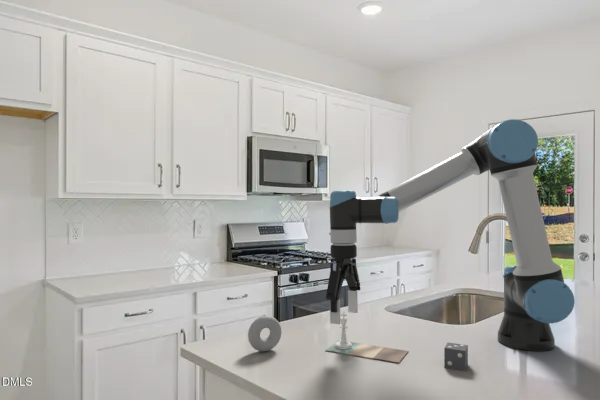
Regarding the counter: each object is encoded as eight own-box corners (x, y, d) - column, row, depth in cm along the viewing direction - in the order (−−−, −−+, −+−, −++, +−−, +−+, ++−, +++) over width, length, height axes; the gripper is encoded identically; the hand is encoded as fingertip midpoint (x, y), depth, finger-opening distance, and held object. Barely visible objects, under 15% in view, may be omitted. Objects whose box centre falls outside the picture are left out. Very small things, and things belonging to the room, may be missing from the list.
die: (467, 364, 115) (467, 344, 115) (465, 371, 110) (465, 350, 110) (447, 361, 117) (447, 342, 117) (444, 367, 112) (444, 347, 112)
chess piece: (351, 350, 125) (351, 314, 125) (334, 348, 126) (334, 313, 126) (353, 344, 130) (352, 310, 130) (336, 343, 131) (336, 309, 131)
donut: (250, 356, 121) (250, 319, 121) (246, 352, 124) (246, 316, 124) (283, 350, 126) (283, 315, 126) (278, 346, 129) (278, 312, 129)
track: (408, 352, 124) (408, 350, 124) (398, 363, 115) (398, 362, 115) (338, 341, 134) (338, 340, 134) (325, 351, 125) (325, 349, 125)
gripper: (347, 240, 141) (348, 307, 141) (312, 247, 119) (314, 327, 119) (369, 240, 137) (370, 309, 137) (338, 248, 115) (340, 330, 115)
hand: (344, 317), depth 128 cm, fingers open, 13 cm apart
